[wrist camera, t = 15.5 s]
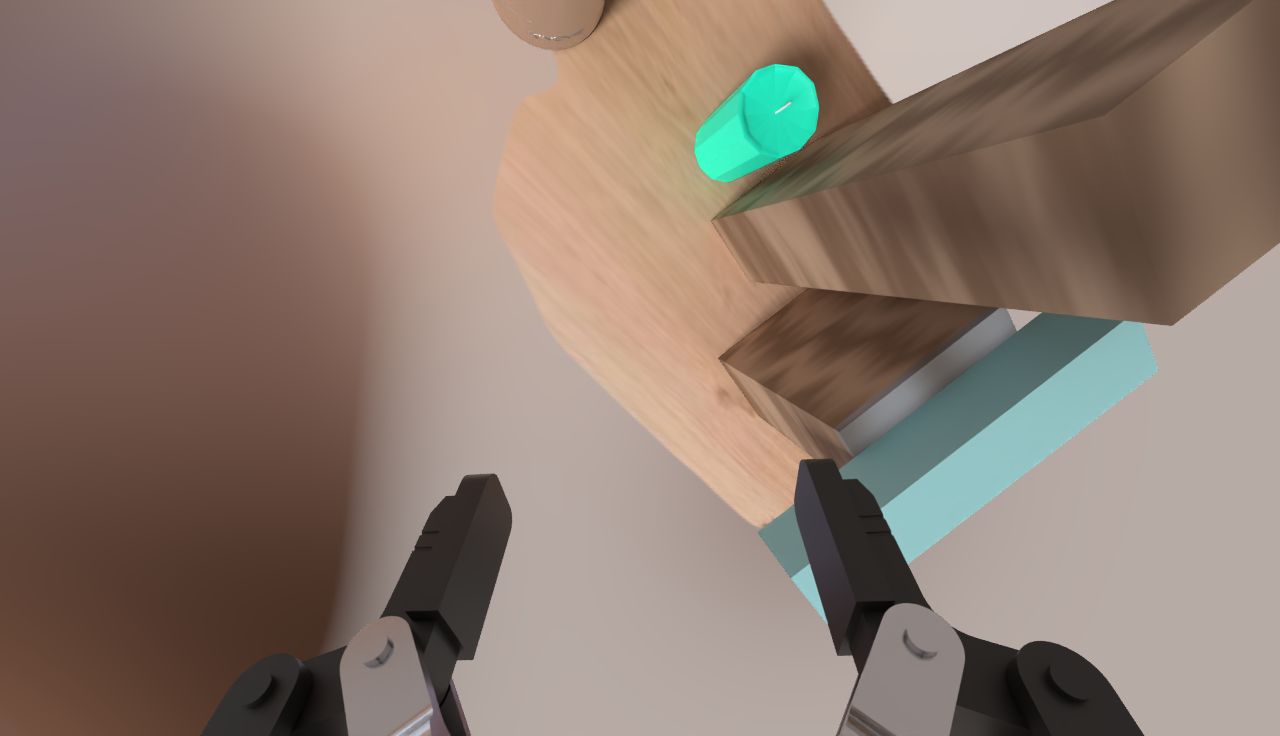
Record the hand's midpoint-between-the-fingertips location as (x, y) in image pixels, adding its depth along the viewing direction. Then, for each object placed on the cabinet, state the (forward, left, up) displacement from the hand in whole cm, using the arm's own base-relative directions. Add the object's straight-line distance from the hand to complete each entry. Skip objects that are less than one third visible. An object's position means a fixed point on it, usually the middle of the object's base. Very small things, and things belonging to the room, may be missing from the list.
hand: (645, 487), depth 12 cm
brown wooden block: (+6, +20, -32) cm, 38 cm away
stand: (-8, +20, -32) cm, 39 cm away
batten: (+7, +18, -11) cm, 22 cm away
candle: (-14, +15, -32) cm, 38 cm away
